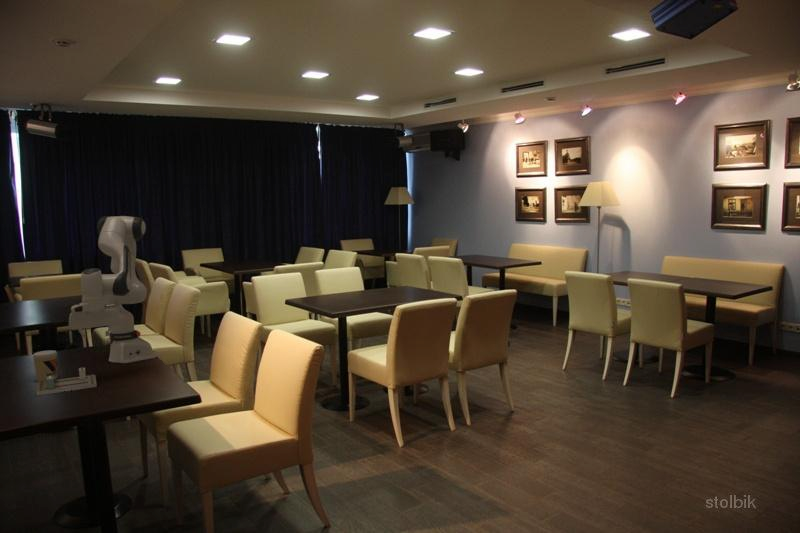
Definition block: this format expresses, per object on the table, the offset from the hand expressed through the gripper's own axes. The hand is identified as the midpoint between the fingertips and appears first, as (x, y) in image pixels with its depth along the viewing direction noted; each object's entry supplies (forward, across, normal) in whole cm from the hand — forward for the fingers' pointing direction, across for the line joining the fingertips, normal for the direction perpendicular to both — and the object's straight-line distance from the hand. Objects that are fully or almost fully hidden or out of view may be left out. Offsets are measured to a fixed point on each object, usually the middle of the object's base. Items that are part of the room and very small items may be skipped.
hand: (95, 336), depth 265 cm
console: (+19, +12, +4) cm, 23 cm away
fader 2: (+18, +6, 0) cm, 19 cm away
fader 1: (+18, +18, +8) cm, 27 cm away
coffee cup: (+20, +20, -14) cm, 31 cm away
